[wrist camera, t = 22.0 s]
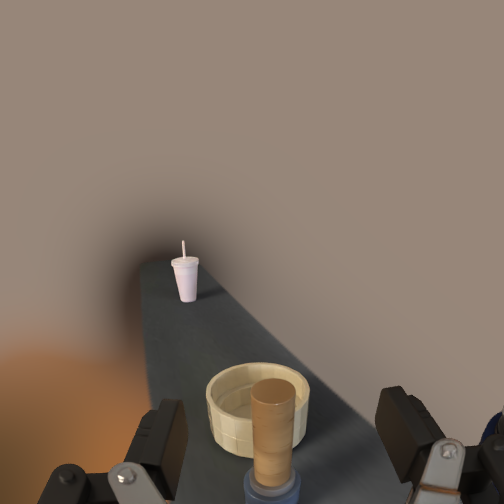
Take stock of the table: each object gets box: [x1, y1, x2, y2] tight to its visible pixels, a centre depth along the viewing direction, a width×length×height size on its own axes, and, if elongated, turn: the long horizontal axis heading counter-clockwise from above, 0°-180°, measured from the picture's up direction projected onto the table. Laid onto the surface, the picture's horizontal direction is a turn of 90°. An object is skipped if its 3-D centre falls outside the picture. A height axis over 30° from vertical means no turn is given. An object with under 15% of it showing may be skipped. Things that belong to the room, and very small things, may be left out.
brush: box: [244, 378, 301, 504], centre depth 20 cm, size 5×5×14 cm
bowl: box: [206, 362, 310, 458], centre depth 31 cm, size 11×11×6 cm
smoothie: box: [172, 241, 199, 302], centre depth 73 cm, size 6×6×14 cm
